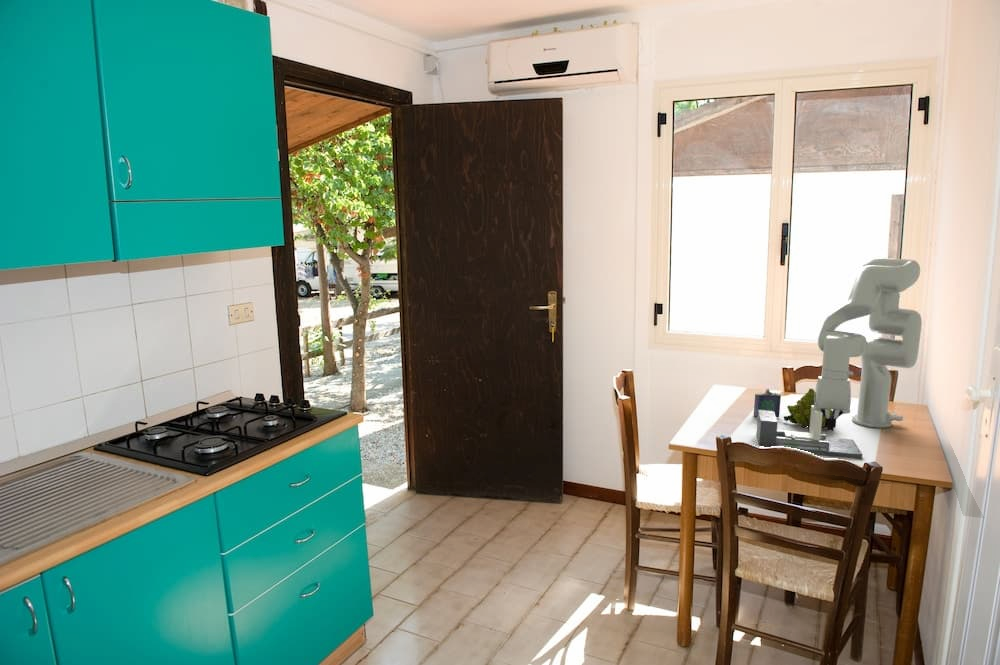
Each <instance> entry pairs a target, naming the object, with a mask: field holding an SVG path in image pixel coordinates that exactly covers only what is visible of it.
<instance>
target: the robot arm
mask: <svg viewBox="0 0 1000 665" xmlns="http://www.w3.org/2000/svg"><path fill="white" fill-rule="evenodd" d="M920 274H921V266H920V264H919V262H917V261H916V260H914V259H907V258H906V259H903V258H889V257H888V258H887V257H875V258H874V257H873V258H867V259H866V260H864V261H863V264H862V268H861V269H859V271H858V272H857V274H856V275H857V276H856V278H855V280H854V283H853V286H852V288H851V291H850V294H849V296H848V300H847V302H846V303H844V304H842V305H841V306H839V307H837V308H836V309H835V310H833V311H832V312H831V313H830V314H829V315H828V316H827V317H826V318H825V320H824V322H823V325H822V326H821V328H820V329H821V330H820V332H819V335H818V338H817V346H818V349H819V350H820V351H822V352H823V353H822V368H821V375H819V376H818V378H817V381H816V384H815V389H814V391H815V396H814V403H815V404H814V407H813V409H814V410H821V412H822V413H823V415H824V416H825V427H826V430H827V431H832V432H833V431H834V428H836V426H837V419H839V417H840V416H842V415H845V414H846V415H848V414H851V403H852V402H851V401H852V399H851V398H852V396H851V394H852V393H851V392H852V389H851V381H850V378H849V377H854V371H851V370H849V366H850V358H858V357H860V358H861V359H860V360H861V375H860V384H859V394H858V395H859V396H858V404H857V414H856V415H853V416H851V417H852V418H851V421H852V422H853V423H855V424H857V425H860V426H863V427H867V428H874V429H875V428H876V429H885V428H889V427H890V428H891V427H892V422H893V421H896V422H903V420H904V418H903V415H898V414H896V413H895V414H894V413H890V412H889V406H890V396H891V386H892V374H891V372H890V370H889V369H888V367H887V366H889V367H896V368H903V369H910V368H913V367H914V366H915V365H916V363H917V360H918V355H919V348H920V339H921V334H922V333H921V331H922V324H923V322H922V321H923V320H922V317H921V314H920V313H919V312H918V311H916V310H915V309H908V308H901V307H900V297H901V296H900V294H901V293H902V292H904V291H906V290H908V289H909V288H911V287H912V286H913V285H915V284H916V282H918V279H919V277H920ZM867 316H869V320H868V325H869V330H870V331H872V332H873V333H876V334H881V335H888V336H895V337H896V336H897V337H901V338H902V339H895V338H888V337H882V336H881V337H880V336H871V337H866V336H865V335H863V334H860V333H855V332H847V331H840V330H837V328H838V327H840V325H843V324H844V323H846V322H848V321H852V320H855V319H859V318H863V317H867ZM829 409H831V410H833V413H832V415H831V417H830V413H829Z"/></svg>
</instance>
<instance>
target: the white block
mask: <svg viewBox="0 0 1000 665" xmlns="http://www.w3.org/2000/svg"><path fill="white" fill-rule="evenodd" d="M813 407H814V405H811V417H810V427H809V430H808V431H809V432H806V431H805V432H804V431H793V430H783V431H784V437H785V438H792V440H795V438H797V439H808V440H820V438H821V434H822V429H821V426H822V415H823V413H822V412H821V410H814V409H813Z"/></svg>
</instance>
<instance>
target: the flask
mask: <svg viewBox="0 0 1000 665" xmlns="http://www.w3.org/2000/svg"><path fill="white" fill-rule="evenodd" d="M781 397H782V395H781V394H779V393H776V392H771V391H770V389H769V388H767V389H765V392H764V393H763V392H762V393H758V392H757V393H755V394H754V402H753V403H754V405H753V417H754V418H757V417H758V410H767V411H774V412H775V416H776V417H779V418H780V412H781V408H780V407H781Z"/></svg>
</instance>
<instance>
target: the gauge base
mask: <svg viewBox="0 0 1000 665" xmlns="http://www.w3.org/2000/svg"><path fill="white" fill-rule="evenodd" d="M778 422H779V421H778V418H776V416H775V412H774V411H767V410H758V418H757V422H756V435H755V437H756V436H757V437H756V441H757V445H759V446H764V447H771V446H784V447H791V448H797V449H800V450H804V451H808V452H811V453H814V454H817V455H816V456H824V457H825V456H827V457H834V458H835V457H836V458H845V457H847V458H846V459H857V460H863V453H862V451H861V450H860V448H859V446H858V445H857V444H856V441H855V440H854V439H848V438H840V437H839V438H838V437H827V434H824V433H821V438H820V440H808V439H797V438H795V440H792V438H785V437H784V431H785V430H779V429H778ZM759 446H758V447H759Z"/></svg>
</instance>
